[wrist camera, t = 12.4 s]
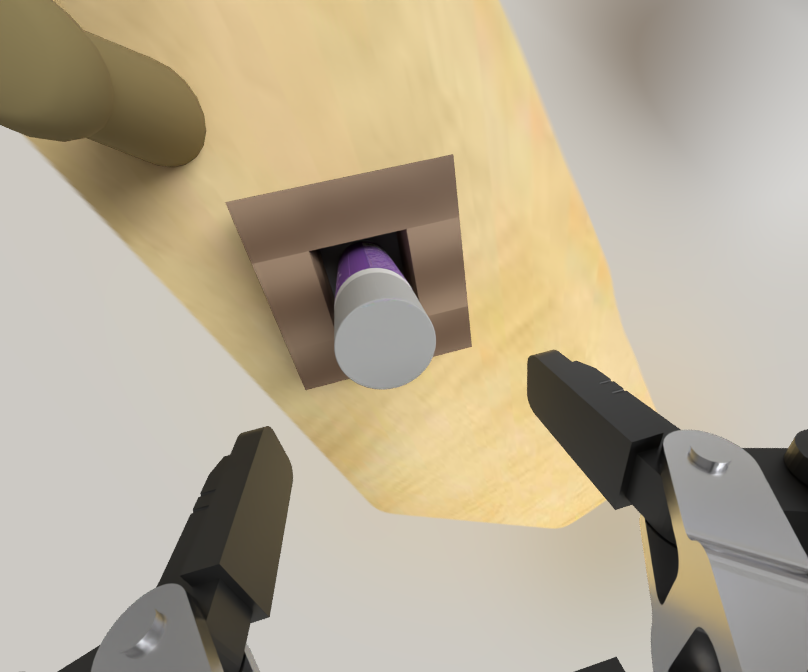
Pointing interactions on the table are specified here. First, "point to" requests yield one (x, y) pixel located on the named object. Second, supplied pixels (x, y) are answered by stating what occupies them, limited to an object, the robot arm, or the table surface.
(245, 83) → the table surface
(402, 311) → the container
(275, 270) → the well block
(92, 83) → the cork
